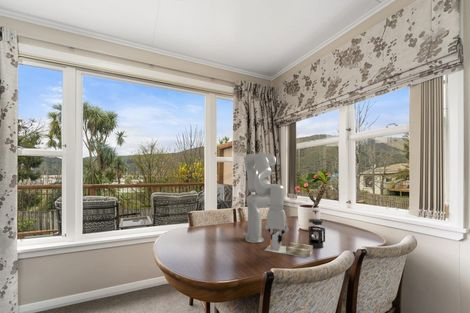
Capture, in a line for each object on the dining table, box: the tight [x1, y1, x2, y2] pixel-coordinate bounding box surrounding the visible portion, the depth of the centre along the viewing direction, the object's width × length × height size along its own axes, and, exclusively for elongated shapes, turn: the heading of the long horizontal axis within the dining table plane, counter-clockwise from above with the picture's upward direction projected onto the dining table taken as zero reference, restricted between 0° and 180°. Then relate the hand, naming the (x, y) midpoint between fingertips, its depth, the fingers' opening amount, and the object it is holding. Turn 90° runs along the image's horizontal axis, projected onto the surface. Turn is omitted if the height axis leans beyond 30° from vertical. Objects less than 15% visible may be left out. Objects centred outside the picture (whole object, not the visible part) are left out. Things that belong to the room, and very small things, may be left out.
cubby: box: [286, 241, 314, 258], centre depth 141 cm, size 14×11×4 cm
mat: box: [264, 244, 311, 259], centre depth 143 cm, size 26×13×1 cm, turn 63°
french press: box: [307, 209, 326, 250], centre depth 153 cm, size 12×9×23 cm
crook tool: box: [272, 230, 283, 251], centre depth 131 cm, size 3×12×8 cm, turn 153°
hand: (276, 241), depth 129 cm, fingers closed on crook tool, 3 cm apart
